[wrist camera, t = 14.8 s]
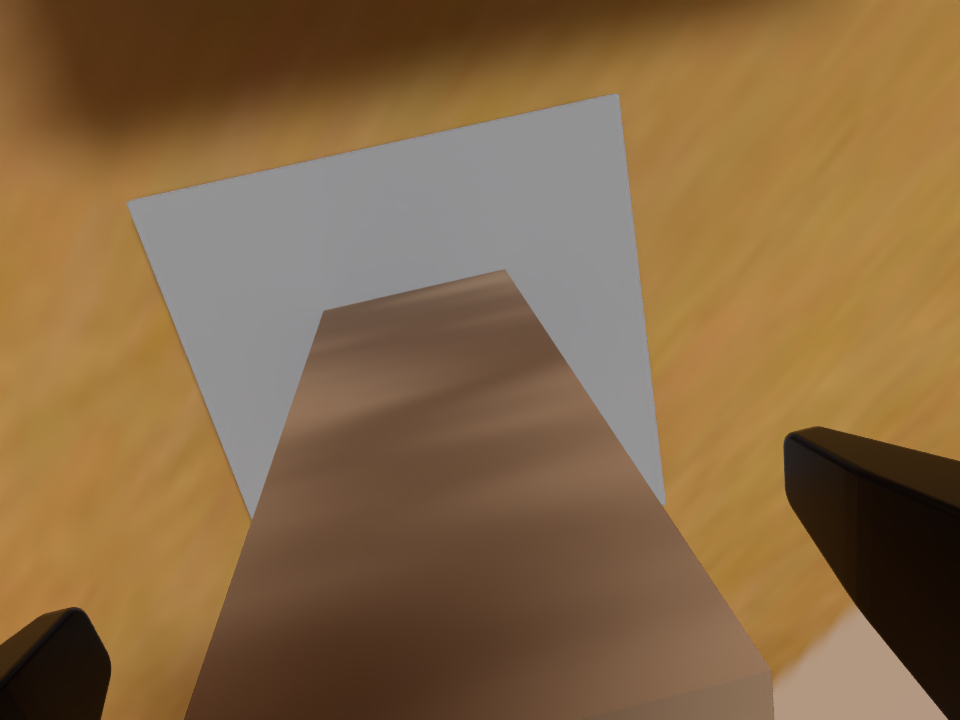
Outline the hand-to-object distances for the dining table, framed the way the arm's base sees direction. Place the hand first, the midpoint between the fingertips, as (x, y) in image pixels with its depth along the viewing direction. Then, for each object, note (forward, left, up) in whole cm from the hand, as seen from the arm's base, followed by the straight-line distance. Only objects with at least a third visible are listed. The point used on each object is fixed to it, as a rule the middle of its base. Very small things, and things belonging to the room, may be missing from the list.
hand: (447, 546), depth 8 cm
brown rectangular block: (0, 0, -6) cm, 6 cm away
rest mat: (0, 0, -6) cm, 6 cm away
